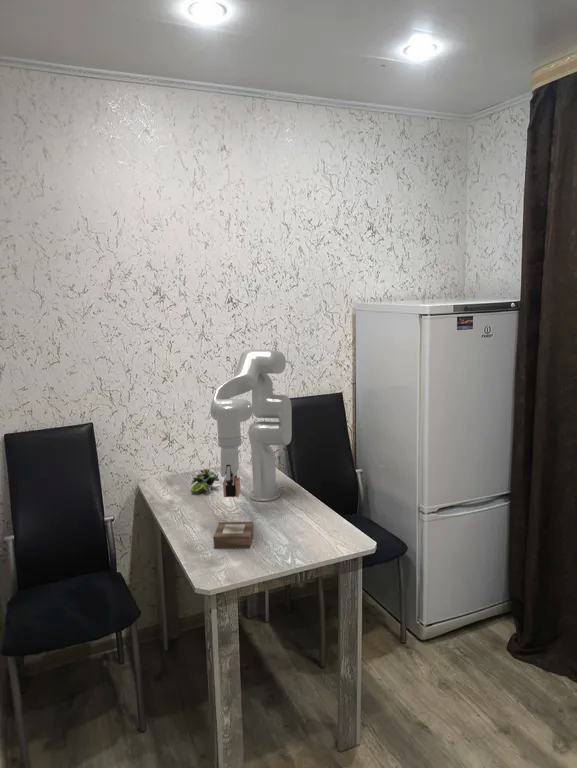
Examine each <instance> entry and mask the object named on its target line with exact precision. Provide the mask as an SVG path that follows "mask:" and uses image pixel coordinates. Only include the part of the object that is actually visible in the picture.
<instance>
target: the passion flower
mask: <svg viewBox="0 0 577 768" xmlns="http://www.w3.org/2000/svg"><path fill="white" fill-rule="evenodd" d="M200 472H201V473H200ZM200 472H199V473H197V474H196V476H195V477H193V478H192V481H191V485H193V487H192V488H191V489H190V492H191V494H193V493H197V492H198V491H200V490H201V489H202V488H203V489H204V491H206V492H208V494H207V495H210V492H211V489H212V487H213V485H214V483H215V482H218V481H220V479H219V474H218V473H217V474H216V473H215V472H214V471H210V469H208V468H207V469H205V468H204V469H201V470H200Z"/></svg>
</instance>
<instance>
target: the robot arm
mask: <svg viewBox="0 0 577 768" xmlns="http://www.w3.org/2000/svg"><path fill="white" fill-rule="evenodd" d="M286 361H287V360H286V356H285V354H284V353H283V352H281V351H277V350H273V349H272V350H271V349H250V350H249V349H248V350H246V351H244V352H242V353H241V355H240V358H239V360H238V363H237V366H236V369H235V372H234V376H233V377H231V378H229V379H227V380H226V381H225V382H223V384H221V385H220V386H219V387H218V388H217V389H216V390H215V392H214V394H213V397H212V401H211V404H210V416H211V417H212V419H214V420H215V421H216V423H217V425H216V426H217V443H218V447H219V448H220V476H221V477H222V478H223V477H225V478H226V485H225V486H226V497H225V498H236V497H235V496H236V488H235V485H234V478H238V472H239V463H240V461H239V459H240V457H239V447H240V446H241V445H242V437H241V436H242V435H241V423H242V422H243V423H244V422H247V421H248V420H249V419H250V418H251V417H252V416H254V417H256V418H258V419H259V418H260V419H278V420H279V421H268V420H266V421H265V420H262V421H261V420H260V421H259V420H258V421H254V422H253V423H251V424H250V425H249V427H248V434H247V435H248V438H249V444H250V450H251V466H252V469H251V470H252V471H251V472H252V487H253V488H252V491H250V493H249V498H250V499H251V500H252V501H255V502H272V501H275V500H277V499H279V498H280V497H281V492H280V490H281V489H284V488H286V487H287V486H286V483H285V482H283V483H280V482H277V475H276V471H277V470H276V455H275V451H274V449H273V447H271V446H287V445H289V444H290V443H291V441H292V435H293V434H292V431H293V430H292V427H293V426H292V425H293V424H292V422H293V421H292V415H293V414H292V413H293V412H292V403H291V401H292V400H291V399H290V397H289V396H288V395H286V394H274V387H273V386H274V384H273V383H274V382H273V380H272V378H271V377H270V375H271V374H275V375H276V374H282V373H283V372H285V369H286V367H287V366H286V365H287V362H286ZM269 374H270V375H269ZM250 391H251V402H250V401H249V400H248V399H244V398H243V399H240V398H234V397H236V396H240V395H243V394H247V393H248V392H250ZM231 478H232V479H231Z"/></svg>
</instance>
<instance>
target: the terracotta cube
mask: <svg viewBox="0 0 577 768" xmlns="http://www.w3.org/2000/svg"><path fill="white" fill-rule="evenodd" d="M231 479H232V478H231ZM225 485H226V477H225V478H224V480H223V481H222V490H223V498H227V497H226V486H225ZM234 485H235V488H236V496H235V497H234V498H239V497H240V494H241V491H242V490H241V477H237V478H234Z"/></svg>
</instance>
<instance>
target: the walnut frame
mask: <svg viewBox="0 0 577 768" xmlns="http://www.w3.org/2000/svg"><path fill="white" fill-rule="evenodd" d="M253 533H255V531H254V522H253V521H226V522H225V521H221V522H219V523H218V525H217V528H216V530H215V532H214V534H213V537H212V538H213V549H250V548H251V547H252V546H251V545H252V541H253V538H254V534H253Z"/></svg>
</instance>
